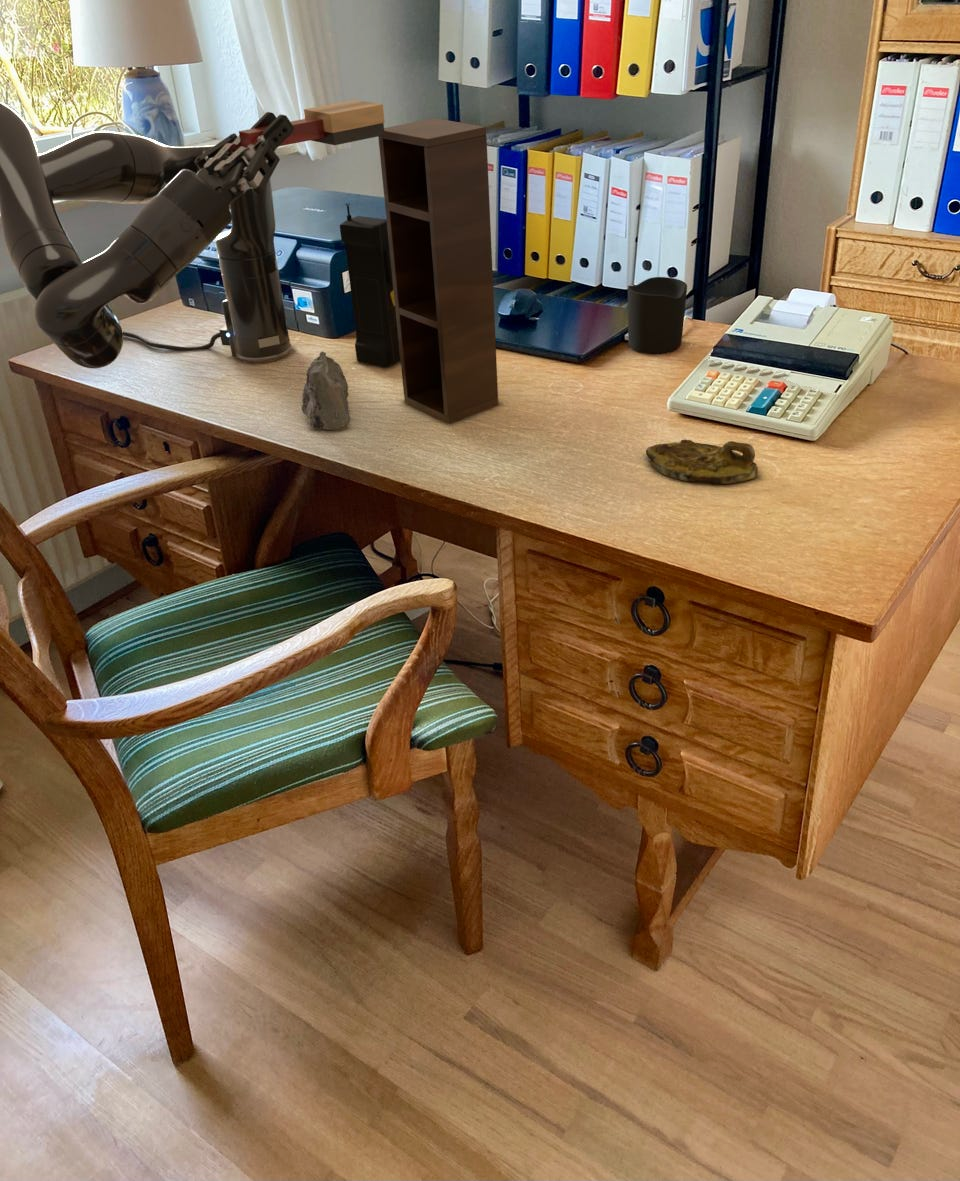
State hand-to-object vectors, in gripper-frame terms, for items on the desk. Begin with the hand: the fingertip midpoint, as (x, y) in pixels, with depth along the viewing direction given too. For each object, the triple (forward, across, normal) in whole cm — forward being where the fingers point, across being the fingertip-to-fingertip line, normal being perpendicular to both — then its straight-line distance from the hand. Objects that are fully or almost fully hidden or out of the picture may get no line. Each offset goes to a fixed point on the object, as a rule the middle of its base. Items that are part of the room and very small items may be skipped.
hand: (281, 120), depth 120 cm
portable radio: (0, -22, -50) cm, 54 cm away
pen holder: (+30, +6, -67) cm, 74 cm away
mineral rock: (-15, -10, -41) cm, 45 cm away
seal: (+6, +40, -53) cm, 67 cm away
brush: (+2, 0, -5) cm, 5 cm away
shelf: (-3, 0, -48) cm, 48 cm away
